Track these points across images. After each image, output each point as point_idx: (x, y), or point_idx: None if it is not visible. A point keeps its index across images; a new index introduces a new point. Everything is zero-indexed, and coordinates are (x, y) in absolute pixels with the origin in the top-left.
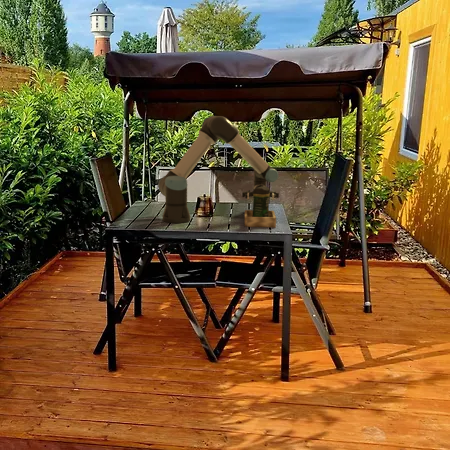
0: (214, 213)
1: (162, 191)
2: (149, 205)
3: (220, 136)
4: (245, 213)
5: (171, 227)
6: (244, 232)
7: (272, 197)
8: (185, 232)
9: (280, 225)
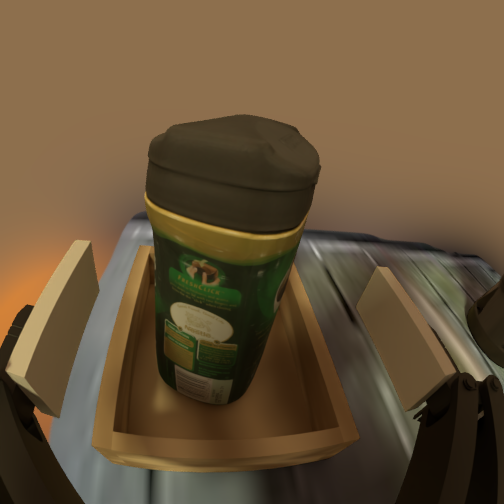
0: None
1: None
2: None
3: None
4: (316, 328)
5: (446, 274)
6: None
7: (78, 314)
8: (394, 242)
9: (108, 313)
